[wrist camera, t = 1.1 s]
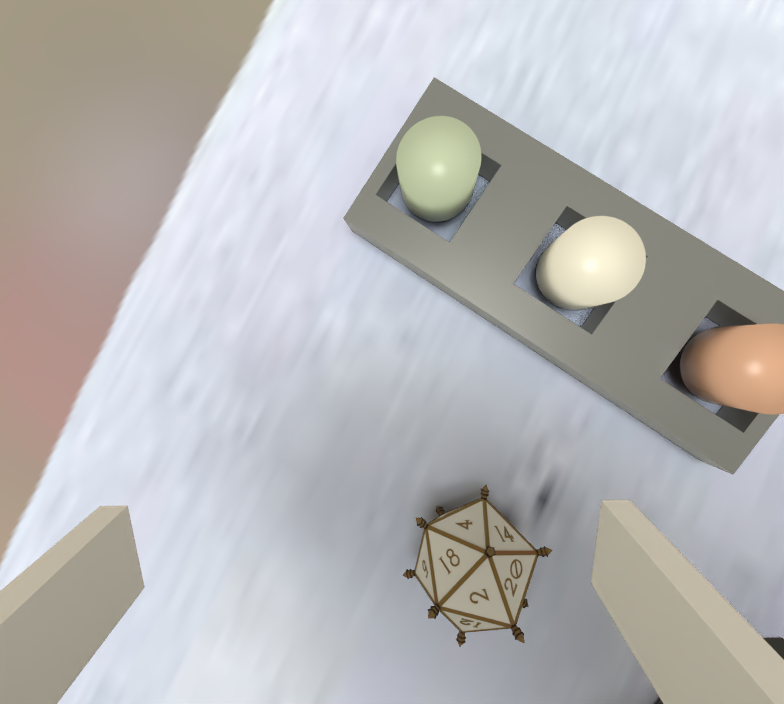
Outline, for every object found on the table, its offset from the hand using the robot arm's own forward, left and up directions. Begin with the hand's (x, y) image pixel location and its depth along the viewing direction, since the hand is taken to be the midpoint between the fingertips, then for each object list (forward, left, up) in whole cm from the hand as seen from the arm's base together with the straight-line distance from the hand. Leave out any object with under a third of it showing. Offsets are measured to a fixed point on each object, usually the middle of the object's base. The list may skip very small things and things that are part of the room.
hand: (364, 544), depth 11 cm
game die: (-9, +4, -19) cm, 21 cm away
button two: (+7, -15, -16) cm, 23 cm away
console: (-4, -15, -19) cm, 24 cm away
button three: (-15, -15, -16) cm, 27 cm away
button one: (-4, -15, -16) cm, 23 cm away
